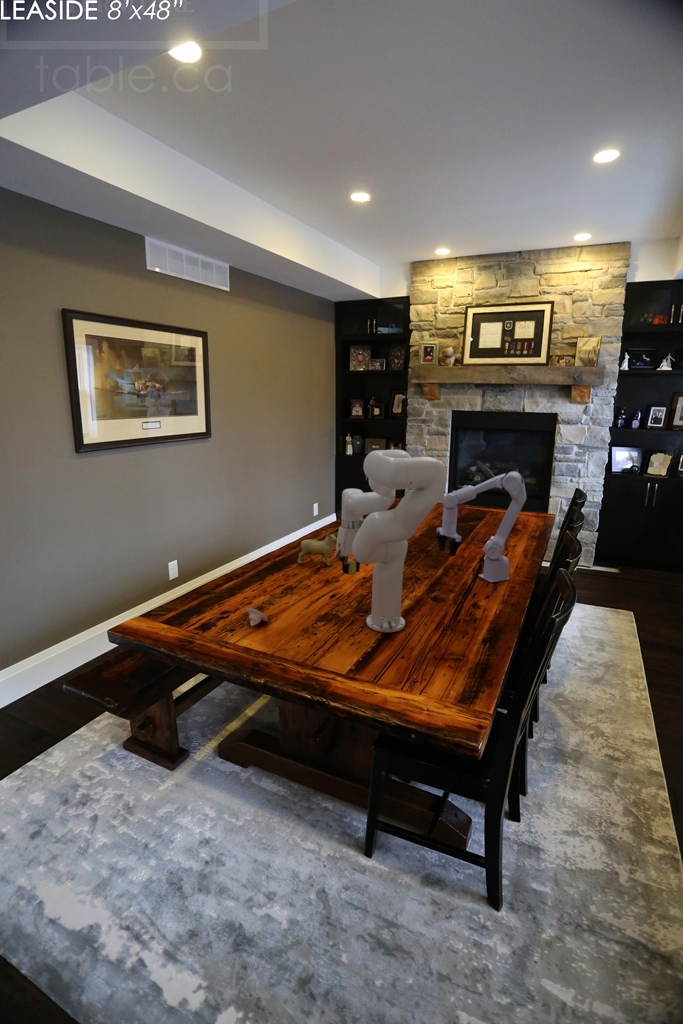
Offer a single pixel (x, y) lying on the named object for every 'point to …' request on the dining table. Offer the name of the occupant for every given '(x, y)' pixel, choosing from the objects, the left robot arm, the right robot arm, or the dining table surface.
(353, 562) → the tin
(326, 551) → the toy
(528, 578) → the dining table surface
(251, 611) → the seashell
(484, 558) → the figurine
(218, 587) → the dining table surface
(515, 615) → the dining table surface
